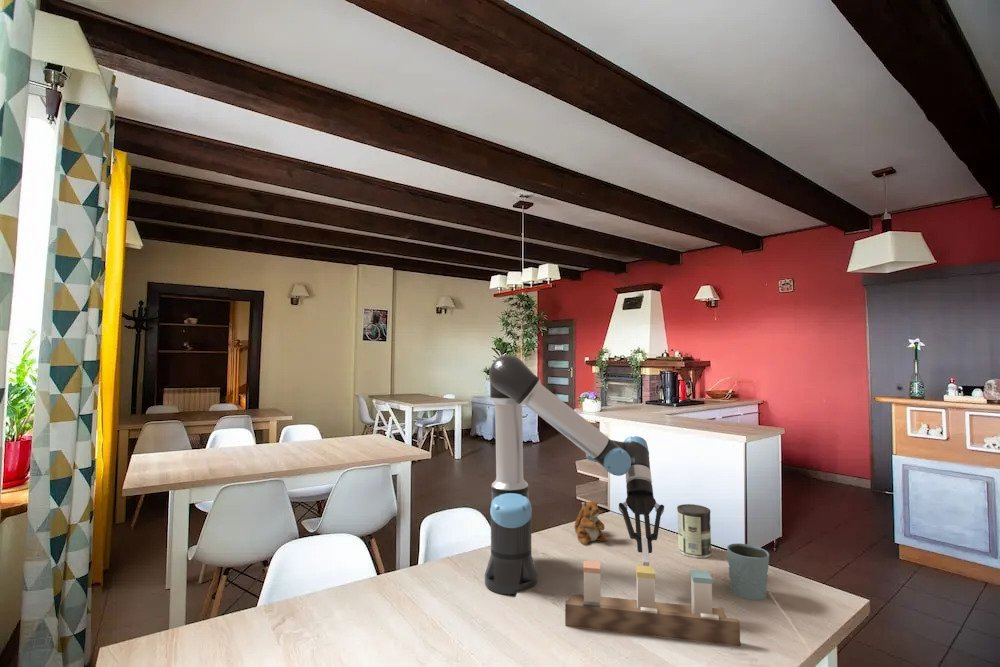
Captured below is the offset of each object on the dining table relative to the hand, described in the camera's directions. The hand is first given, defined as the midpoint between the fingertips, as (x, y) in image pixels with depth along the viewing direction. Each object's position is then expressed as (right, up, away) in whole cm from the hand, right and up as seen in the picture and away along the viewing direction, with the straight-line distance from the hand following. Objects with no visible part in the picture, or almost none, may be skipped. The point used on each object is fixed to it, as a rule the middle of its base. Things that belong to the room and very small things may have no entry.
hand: (646, 564), depth 128 cm
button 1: (-15, -8, -6) cm, 18 cm away
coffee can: (+25, -11, +31) cm, 41 cm away
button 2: (+10, -8, -12) cm, 17 cm away
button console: (-3, -9, -11) cm, 14 cm away
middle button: (-3, -8, -9) cm, 12 cm away
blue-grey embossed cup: (+28, -9, +2) cm, 30 cm away
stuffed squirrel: (-7, -12, +44) cm, 46 cm away
